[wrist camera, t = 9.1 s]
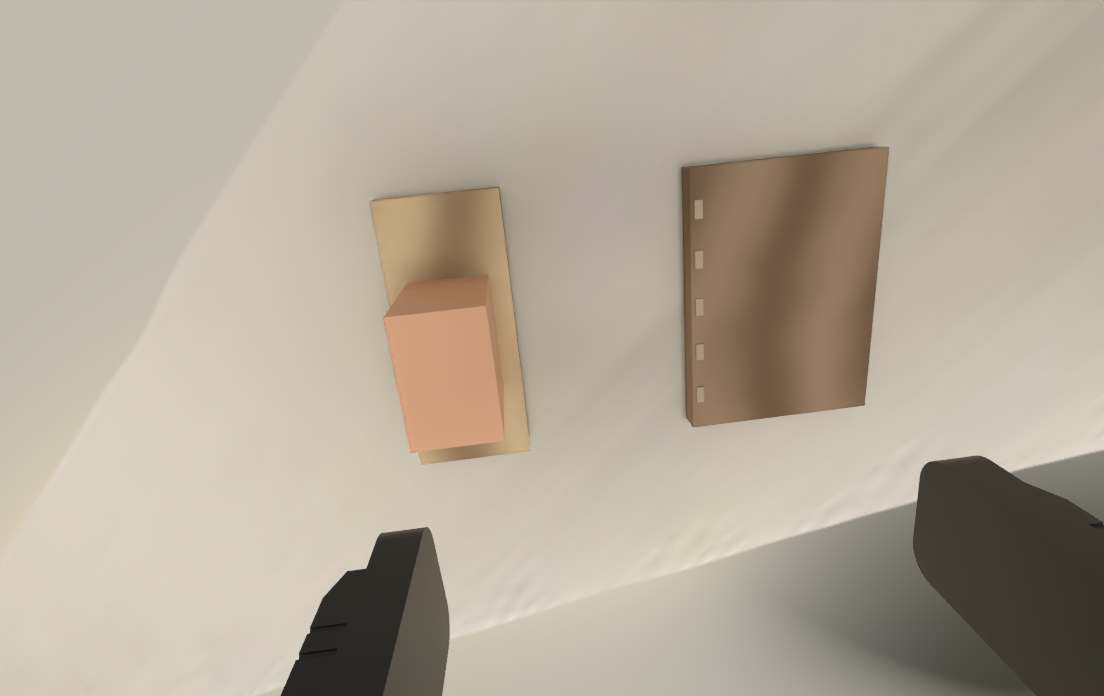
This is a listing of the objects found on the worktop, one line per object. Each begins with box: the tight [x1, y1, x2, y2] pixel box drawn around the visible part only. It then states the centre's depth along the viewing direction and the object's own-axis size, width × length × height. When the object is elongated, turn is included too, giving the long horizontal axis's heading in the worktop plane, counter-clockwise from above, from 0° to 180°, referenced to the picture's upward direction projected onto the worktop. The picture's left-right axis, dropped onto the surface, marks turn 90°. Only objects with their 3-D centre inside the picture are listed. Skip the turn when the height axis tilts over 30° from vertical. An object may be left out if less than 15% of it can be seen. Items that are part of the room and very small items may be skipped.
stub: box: [370, 187, 531, 465], centre depth 27 cm, size 6×14×7 cm, turn 6°
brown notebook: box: [682, 147, 889, 427], centre depth 31 cm, size 10×14×1 cm
